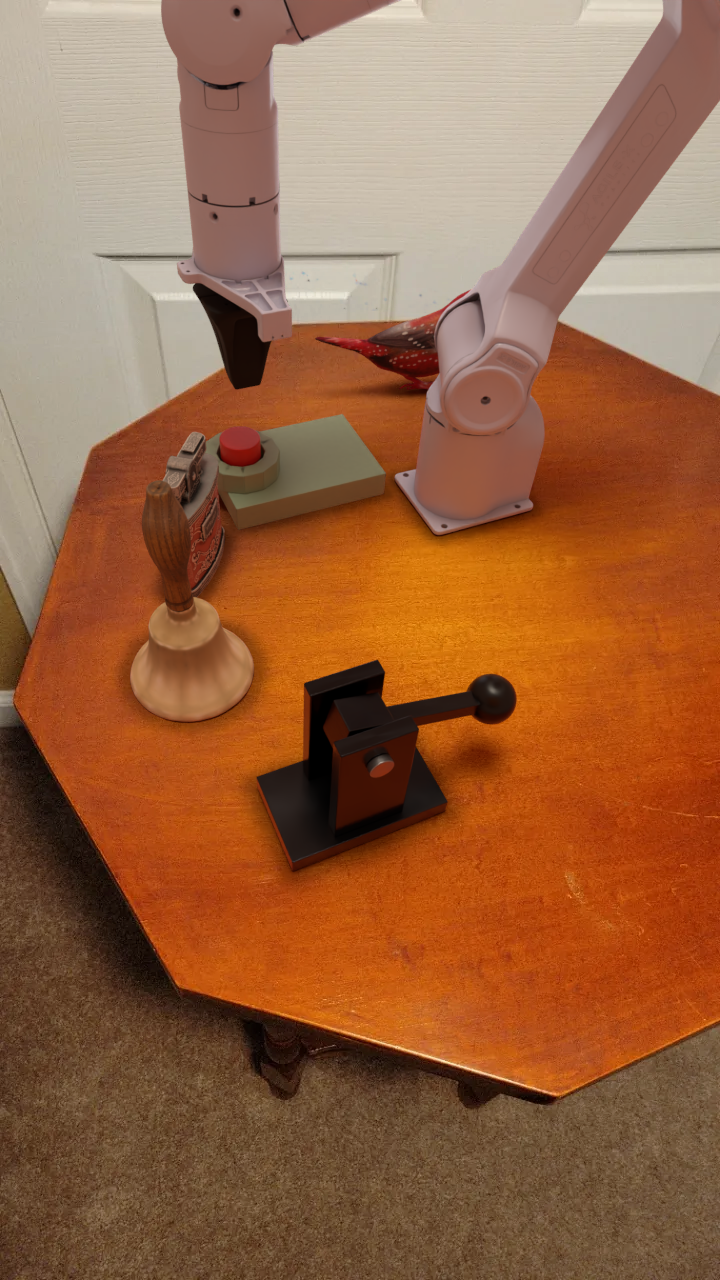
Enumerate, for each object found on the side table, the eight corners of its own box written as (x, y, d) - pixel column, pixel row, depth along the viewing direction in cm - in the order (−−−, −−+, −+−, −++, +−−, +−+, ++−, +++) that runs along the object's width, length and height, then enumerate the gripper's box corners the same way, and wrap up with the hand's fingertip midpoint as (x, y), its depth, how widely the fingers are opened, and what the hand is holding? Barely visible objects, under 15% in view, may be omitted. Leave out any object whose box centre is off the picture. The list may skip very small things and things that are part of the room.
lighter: (200, 605, 59) (186, 498, 51) (156, 596, 59) (135, 489, 51) (233, 533, 64) (225, 427, 56) (192, 526, 64) (179, 419, 57)
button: (253, 440, 66) (252, 422, 65) (266, 463, 64) (265, 445, 63) (215, 448, 65) (213, 430, 64) (228, 471, 63) (226, 453, 62)
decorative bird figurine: (492, 392, 79) (513, 293, 72) (316, 406, 76) (319, 304, 68) (483, 376, 81) (502, 278, 74) (311, 389, 78) (312, 288, 70)
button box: (341, 434, 73) (343, 396, 70) (384, 494, 68) (388, 455, 65) (192, 467, 69) (187, 427, 66) (225, 533, 64) (221, 494, 61)
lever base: (401, 735, 53) (419, 637, 45) (445, 811, 49) (472, 719, 42) (256, 786, 49) (249, 691, 42) (292, 871, 46) (291, 784, 39)
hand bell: (147, 738, 51) (101, 556, 39) (118, 645, 56) (68, 457, 44) (271, 700, 54) (263, 518, 42) (232, 614, 58) (216, 428, 46)
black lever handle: (488, 692, 50) (507, 660, 48) (513, 730, 48) (534, 697, 46) (317, 725, 44) (331, 689, 42) (339, 768, 43) (354, 734, 41)
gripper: (139, 152, 53) (165, 343, 63) (207, 246, 45) (225, 448, 55) (241, 142, 55) (250, 328, 66) (324, 230, 47) (320, 427, 57)
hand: (245, 382), depth 60 cm, fingers closed
